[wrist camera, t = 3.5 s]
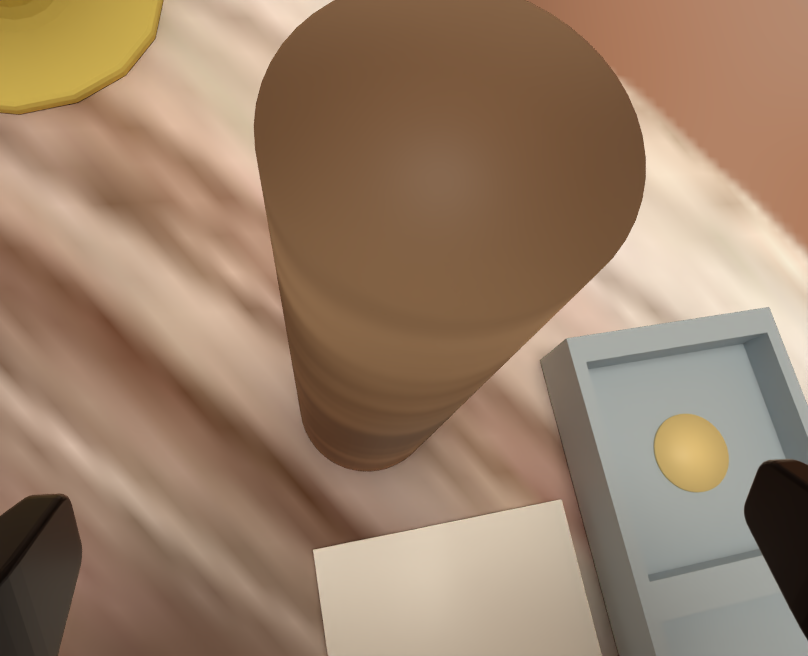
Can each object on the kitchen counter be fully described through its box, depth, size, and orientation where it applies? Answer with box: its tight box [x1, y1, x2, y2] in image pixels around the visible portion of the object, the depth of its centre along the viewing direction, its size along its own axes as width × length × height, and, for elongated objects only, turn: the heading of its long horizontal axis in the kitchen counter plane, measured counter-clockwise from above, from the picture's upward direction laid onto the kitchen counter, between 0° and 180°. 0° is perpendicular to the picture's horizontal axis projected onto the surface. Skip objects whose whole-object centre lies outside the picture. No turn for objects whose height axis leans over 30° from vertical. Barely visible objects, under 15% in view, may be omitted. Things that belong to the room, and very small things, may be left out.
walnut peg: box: [254, 0, 646, 471], centre depth 13 cm, size 4×4×14 cm
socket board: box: [540, 307, 808, 656], centre depth 18 cm, size 15×7×2 cm, turn 11°
